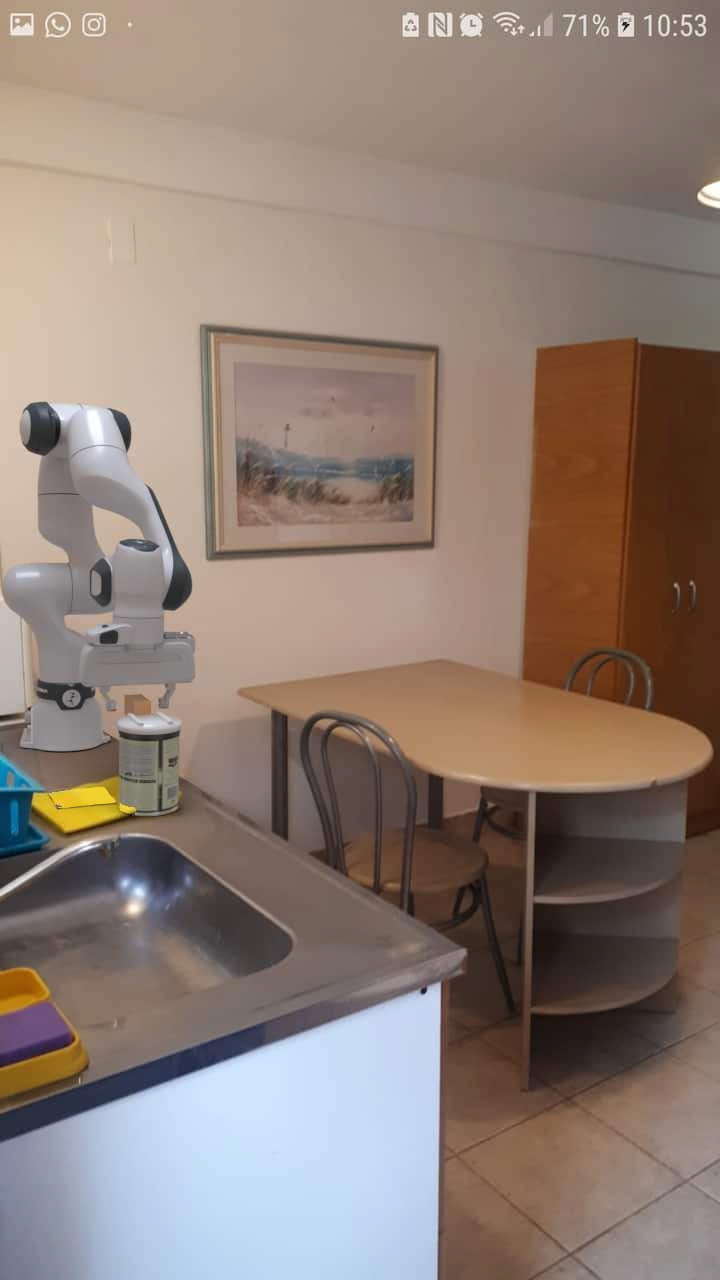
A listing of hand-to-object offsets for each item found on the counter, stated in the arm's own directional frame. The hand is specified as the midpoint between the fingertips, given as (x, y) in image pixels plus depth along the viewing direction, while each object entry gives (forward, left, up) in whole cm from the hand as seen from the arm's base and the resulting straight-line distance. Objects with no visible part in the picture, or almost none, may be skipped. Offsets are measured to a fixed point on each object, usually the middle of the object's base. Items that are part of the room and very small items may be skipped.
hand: (137, 709), depth 169 cm
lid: (+5, 0, -1) cm, 5 cm away
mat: (-1, -10, -16) cm, 18 cm away
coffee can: (+8, 0, -16) cm, 18 cm away
